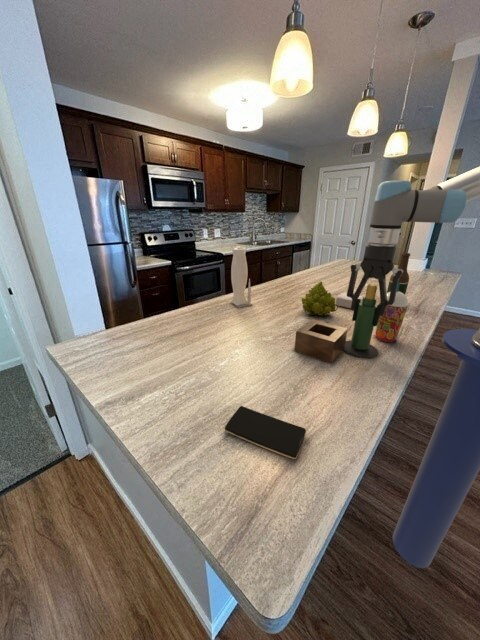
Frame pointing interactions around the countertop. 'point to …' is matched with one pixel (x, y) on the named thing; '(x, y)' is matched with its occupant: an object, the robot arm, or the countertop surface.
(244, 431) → the smartphone
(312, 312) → the vegetable
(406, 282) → the beer bottle
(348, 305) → the charger
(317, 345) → the holder
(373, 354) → the coaster
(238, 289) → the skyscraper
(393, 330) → the smoothie
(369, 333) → the bottle
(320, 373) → the countertop surface
